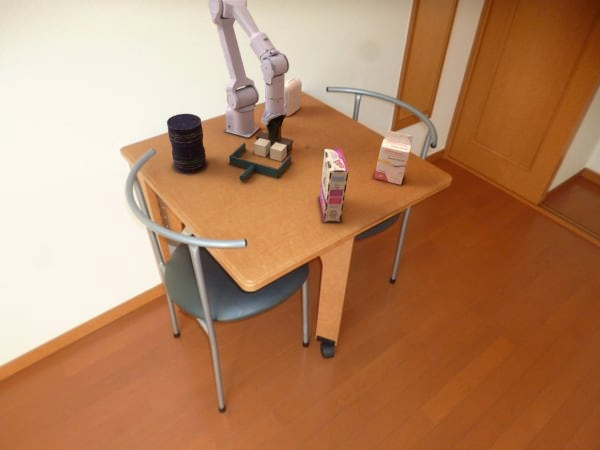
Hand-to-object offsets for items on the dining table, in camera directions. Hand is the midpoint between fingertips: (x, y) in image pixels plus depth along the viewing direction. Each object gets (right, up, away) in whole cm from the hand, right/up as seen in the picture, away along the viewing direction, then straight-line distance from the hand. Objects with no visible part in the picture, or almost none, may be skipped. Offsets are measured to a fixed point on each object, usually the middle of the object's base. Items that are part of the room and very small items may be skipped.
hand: (274, 135), depth 136 cm
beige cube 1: (-4, -5, +1) cm, 7 cm away
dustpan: (-6, -12, -6) cm, 14 cm away
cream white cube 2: (+1, -7, 0) cm, 7 cm away
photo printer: (+5, +15, +25) cm, 30 cm away
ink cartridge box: (+36, -15, -6) cm, 39 cm away
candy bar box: (+17, -25, -19) cm, 36 cm away
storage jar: (-26, -11, -6) cm, 29 cm away
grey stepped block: (0, -3, +3) cm, 4 cm away
